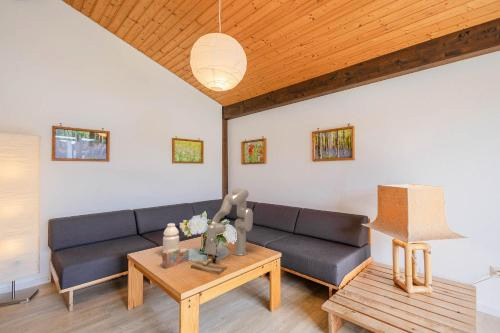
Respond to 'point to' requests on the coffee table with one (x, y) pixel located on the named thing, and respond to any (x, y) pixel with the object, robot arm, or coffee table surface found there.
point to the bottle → (170, 237)
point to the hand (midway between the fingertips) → (211, 262)
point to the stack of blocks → (174, 257)
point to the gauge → (209, 260)
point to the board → (209, 267)
